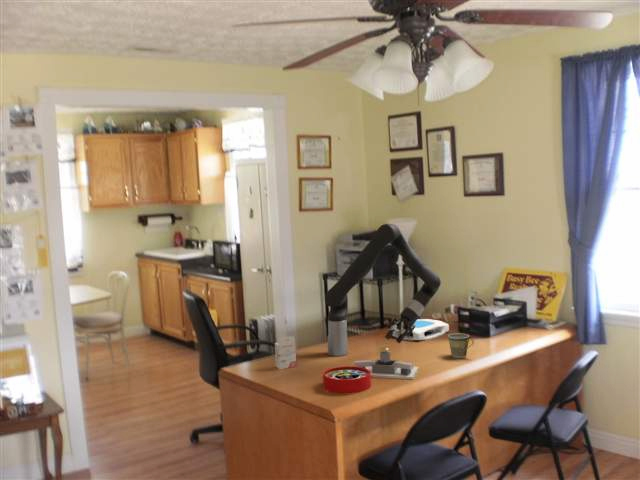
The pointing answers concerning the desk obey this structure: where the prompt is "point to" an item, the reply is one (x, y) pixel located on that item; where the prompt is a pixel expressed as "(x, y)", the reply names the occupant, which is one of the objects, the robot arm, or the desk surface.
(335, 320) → the robot arm
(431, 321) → the white blue plastic platform
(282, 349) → the ink cartridge box
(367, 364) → the shaft rig
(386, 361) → the gold lidded jar
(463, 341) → the ceramic cup
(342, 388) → the toy clock
